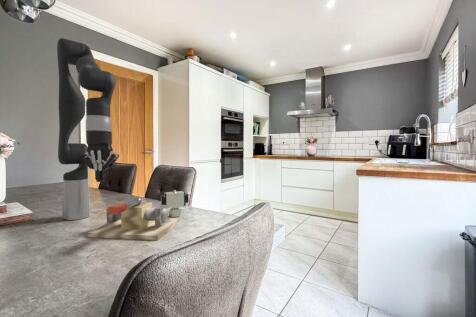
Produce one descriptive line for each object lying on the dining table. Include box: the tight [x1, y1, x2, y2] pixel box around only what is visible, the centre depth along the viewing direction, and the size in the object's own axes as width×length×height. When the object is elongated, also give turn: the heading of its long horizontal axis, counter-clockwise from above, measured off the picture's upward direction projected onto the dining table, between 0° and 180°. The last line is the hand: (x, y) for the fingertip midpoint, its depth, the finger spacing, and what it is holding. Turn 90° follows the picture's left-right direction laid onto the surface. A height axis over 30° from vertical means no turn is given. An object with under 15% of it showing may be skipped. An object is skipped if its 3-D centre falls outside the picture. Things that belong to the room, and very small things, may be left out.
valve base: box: [87, 201, 181, 241], centre depth 91 cm, size 26×20×10 cm
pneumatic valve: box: [160, 189, 190, 218], centre depth 107 cm, size 6×12×12 cm, turn 111°
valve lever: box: [107, 197, 142, 214], centre depth 83 cm, size 16×3×2 cm, turn 173°
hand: (100, 181), depth 80 cm, fingers closed
